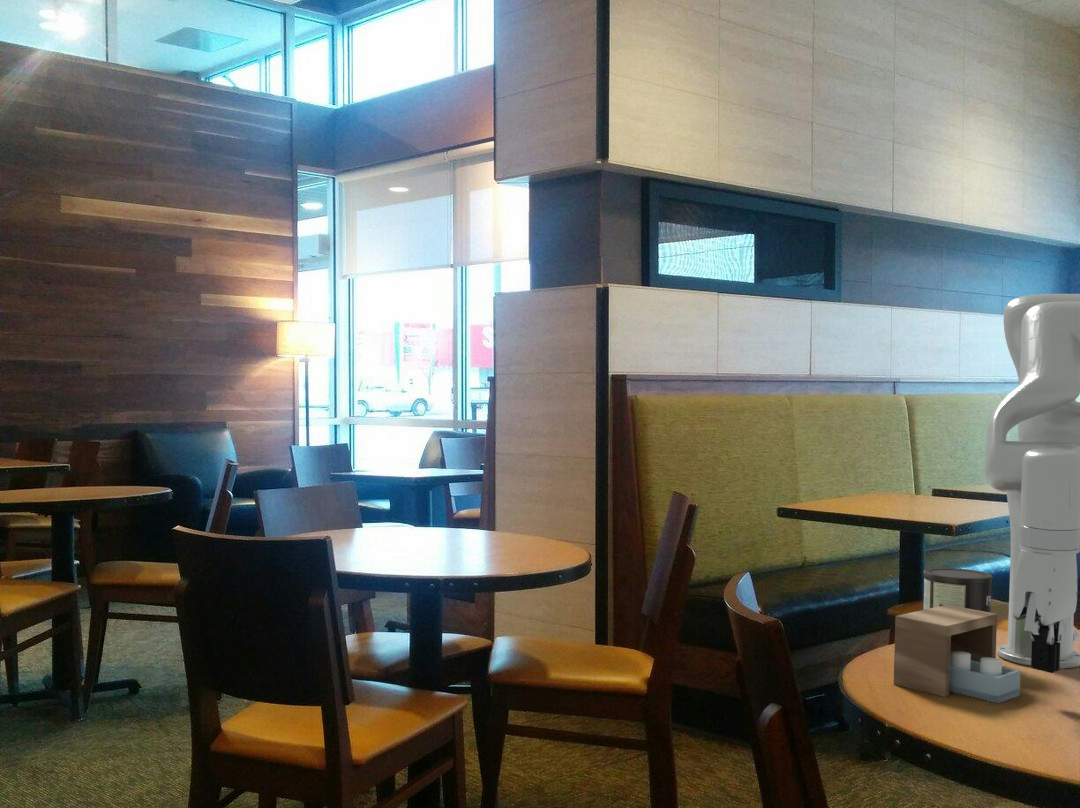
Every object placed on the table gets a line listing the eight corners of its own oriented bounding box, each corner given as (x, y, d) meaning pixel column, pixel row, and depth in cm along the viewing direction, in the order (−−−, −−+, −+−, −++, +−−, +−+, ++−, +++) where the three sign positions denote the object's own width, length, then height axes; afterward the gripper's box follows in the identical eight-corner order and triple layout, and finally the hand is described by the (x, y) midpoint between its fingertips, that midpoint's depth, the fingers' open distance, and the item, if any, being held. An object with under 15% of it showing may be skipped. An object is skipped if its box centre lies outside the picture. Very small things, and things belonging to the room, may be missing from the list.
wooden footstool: (944, 669, 166) (946, 604, 166) (995, 680, 160) (997, 613, 160) (893, 684, 156) (895, 616, 156) (944, 697, 150) (946, 626, 150)
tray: (953, 679, 160) (954, 646, 160) (1019, 695, 152) (1020, 660, 152) (930, 687, 155) (931, 652, 155) (997, 703, 148) (998, 667, 148)
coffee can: (982, 654, 176) (985, 569, 175) (996, 670, 166) (998, 580, 165) (916, 650, 178) (919, 565, 178) (926, 665, 168) (928, 576, 167)
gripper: (1046, 528, 155) (1042, 653, 156) (996, 541, 145) (992, 674, 147) (1100, 536, 149) (1096, 665, 151) (1052, 550, 140) (1047, 688, 141)
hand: (1045, 669), depth 149 cm, fingers closed
